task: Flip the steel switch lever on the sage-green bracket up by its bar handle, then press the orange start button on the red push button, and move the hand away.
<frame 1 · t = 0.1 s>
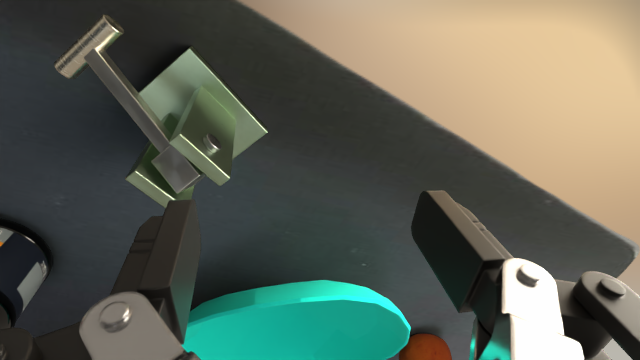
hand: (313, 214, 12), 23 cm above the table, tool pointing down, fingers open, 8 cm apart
table top decor: (270, 308, 49), on the table
switch bracket: (201, 115, 32), on the table
supplement container: (1, 247, 35), on the table
fruit: (416, 338, 61), on the table
switch lever: (140, 112, 23), point 8 cm above the table, hinge at -25.0°
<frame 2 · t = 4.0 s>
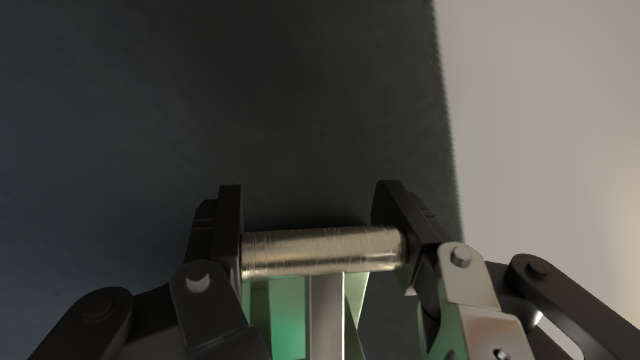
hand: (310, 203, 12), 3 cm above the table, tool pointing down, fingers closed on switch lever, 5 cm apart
switch bracket: (293, 294, 20), on the table
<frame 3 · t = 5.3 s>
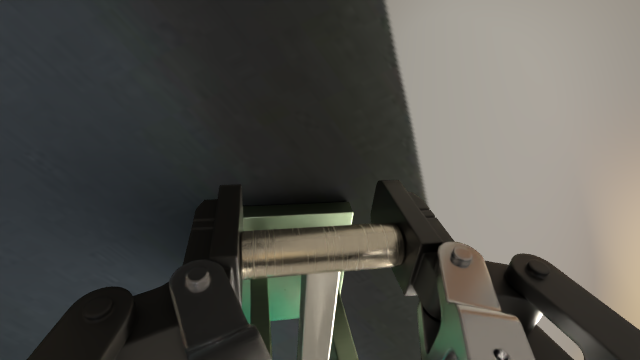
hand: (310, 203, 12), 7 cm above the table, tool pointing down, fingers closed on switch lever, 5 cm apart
switch bracket: (286, 260, 23), on the table
switch lever: (312, 355, 13), point 10 cm above the table, hinge at -2.6°, touching gripper
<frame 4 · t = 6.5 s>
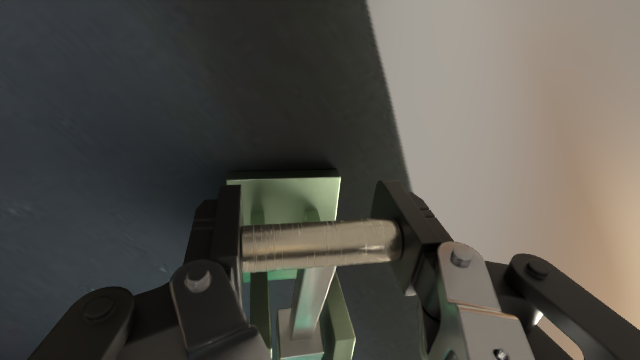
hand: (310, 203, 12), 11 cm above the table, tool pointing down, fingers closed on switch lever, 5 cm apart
switch bracket: (282, 224, 26), on the table
switch lever: (305, 306, 14), point 11 cm above the table, hinge at 17.8°, touching gripper
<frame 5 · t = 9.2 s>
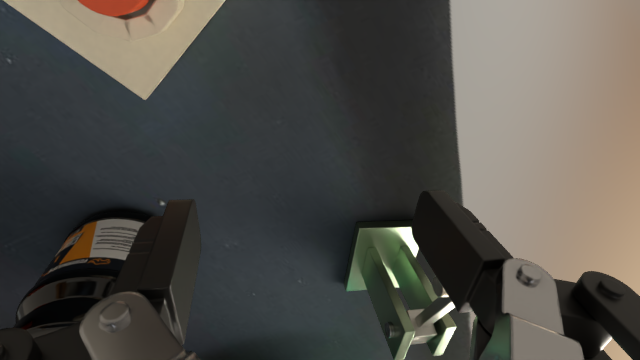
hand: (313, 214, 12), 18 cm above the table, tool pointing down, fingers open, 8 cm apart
switch bracket: (380, 253, 40), on the table
supplement container: (131, 247, 33), on the table
switch lever: (436, 309, 28), point 11 cm above the table, hinge at 18.3°
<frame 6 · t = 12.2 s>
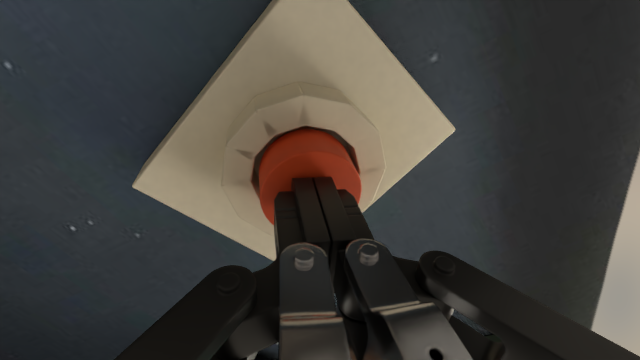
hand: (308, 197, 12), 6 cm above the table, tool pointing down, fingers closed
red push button: (296, 137, 17), on the table
start button: (308, 183, 13), point 4 cm above the table, slide at 0.0 cm, touching gripper
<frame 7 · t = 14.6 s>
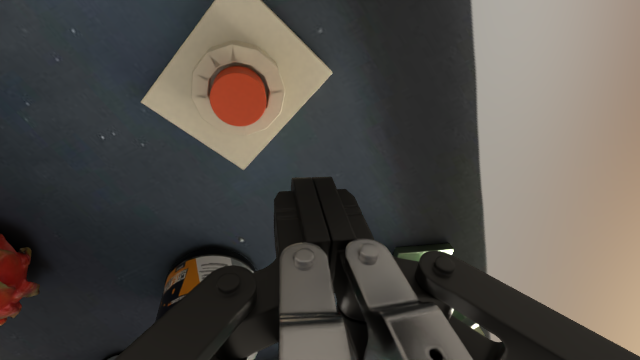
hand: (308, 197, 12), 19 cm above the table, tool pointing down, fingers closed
switch bracket: (414, 271, 46), on the table
supplement container: (214, 274, 40), on the table
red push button: (240, 79, 28), on the table
switch lever: (469, 323, 35), point 11 cm above the table, hinge at 18.3°
start button: (238, 96, 24), point 5 cm above the table, slide at 0.2 cm
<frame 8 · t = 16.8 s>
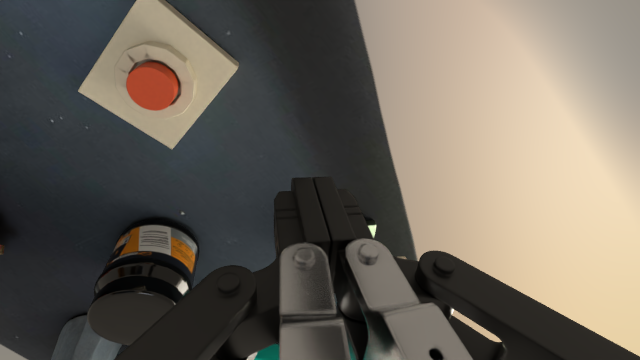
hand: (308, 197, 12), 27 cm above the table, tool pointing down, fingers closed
table top decor: (257, 354, 64), on the table
supplement container: (161, 244, 46), on the table
moka pot: (94, 327, 52), on the table
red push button: (164, 73, 34), on the table
switch lever: (372, 283, 40), point 11 cm above the table, hinge at 18.3°
start button: (153, 86, 30), point 5 cm above the table, slide at 0.2 cm
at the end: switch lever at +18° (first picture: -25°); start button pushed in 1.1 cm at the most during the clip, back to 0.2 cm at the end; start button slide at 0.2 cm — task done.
